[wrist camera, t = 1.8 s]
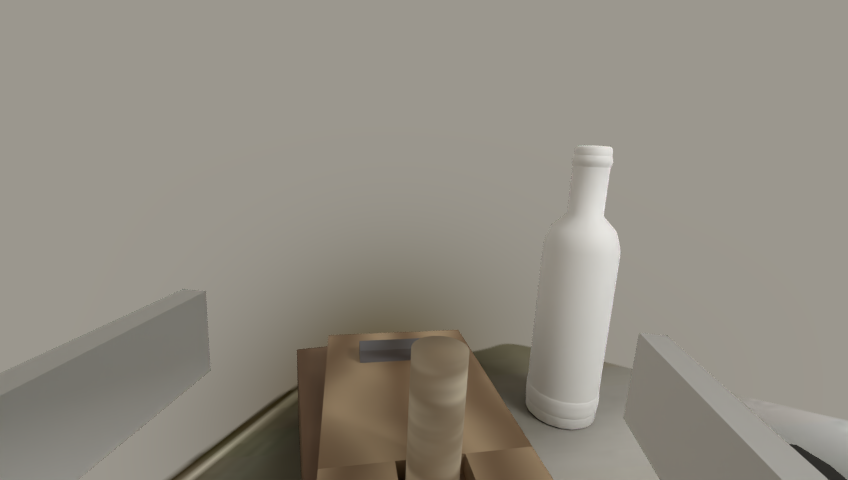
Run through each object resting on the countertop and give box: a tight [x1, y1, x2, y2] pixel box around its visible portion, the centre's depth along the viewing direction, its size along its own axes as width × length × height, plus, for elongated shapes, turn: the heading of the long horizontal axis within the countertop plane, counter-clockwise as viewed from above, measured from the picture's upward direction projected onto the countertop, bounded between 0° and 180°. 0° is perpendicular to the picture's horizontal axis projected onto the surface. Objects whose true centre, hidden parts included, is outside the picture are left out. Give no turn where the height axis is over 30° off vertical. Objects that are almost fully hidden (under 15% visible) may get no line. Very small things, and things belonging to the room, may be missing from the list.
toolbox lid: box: [317, 330, 553, 480], centre depth 31 cm, size 14×24×3 cm, turn 11°
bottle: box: [525, 145, 621, 430], centre depth 44 cm, size 8×8×30 cm
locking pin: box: [405, 336, 469, 480], centre depth 23 cm, size 3×3×14 cm
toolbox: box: [297, 346, 466, 480], centre depth 33 cm, size 14×24×8 cm, turn 19°
